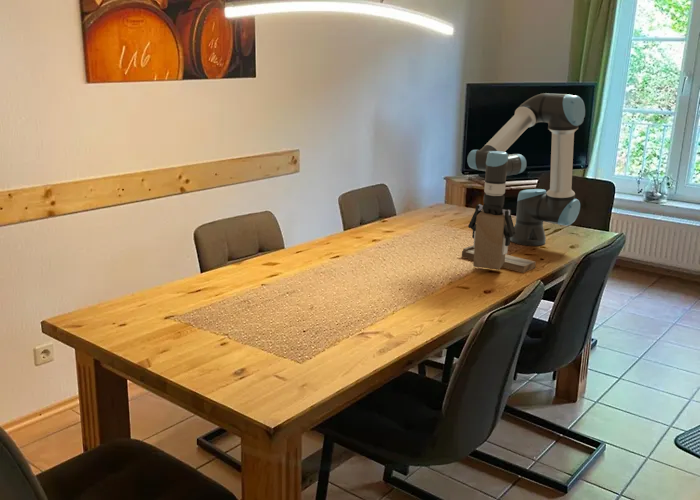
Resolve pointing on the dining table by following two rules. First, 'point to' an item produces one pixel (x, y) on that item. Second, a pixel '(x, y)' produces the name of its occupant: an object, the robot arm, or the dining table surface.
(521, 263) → the curved panel
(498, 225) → the wooden block
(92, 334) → the dining table surface
